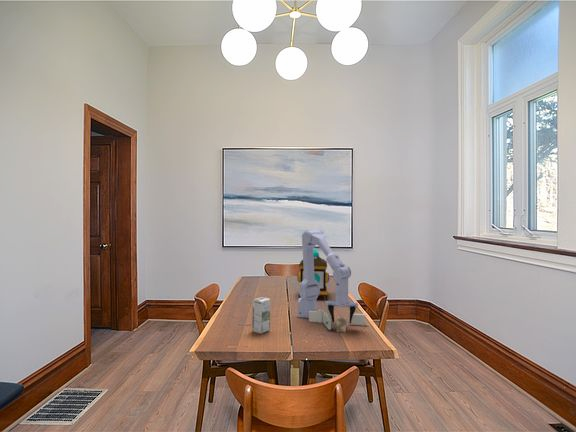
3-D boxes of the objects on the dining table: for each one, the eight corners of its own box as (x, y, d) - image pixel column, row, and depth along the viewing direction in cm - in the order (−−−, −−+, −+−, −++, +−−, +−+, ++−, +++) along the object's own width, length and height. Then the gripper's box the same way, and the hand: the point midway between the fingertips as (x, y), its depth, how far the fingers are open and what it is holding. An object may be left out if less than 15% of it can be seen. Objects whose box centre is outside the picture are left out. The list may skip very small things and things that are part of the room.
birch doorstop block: (336, 332, 150) (336, 322, 150) (337, 326, 158) (337, 316, 158) (345, 332, 150) (345, 322, 149) (346, 326, 157) (346, 317, 157)
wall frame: (308, 321, 163) (308, 309, 163) (309, 320, 165) (309, 308, 165) (365, 325, 158) (365, 313, 158) (365, 324, 159) (365, 312, 159)
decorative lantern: (329, 293, 219) (329, 247, 219) (329, 301, 200) (330, 250, 199) (298, 292, 221) (298, 246, 221) (296, 300, 202) (296, 250, 201)
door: (320, 321, 162) (320, 311, 162) (324, 321, 162) (324, 311, 162) (326, 330, 151) (326, 318, 151) (330, 329, 151) (331, 318, 151)
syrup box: (261, 327, 155) (261, 296, 155) (270, 330, 151) (270, 298, 151) (252, 331, 151) (252, 299, 150) (261, 334, 147) (261, 301, 147)
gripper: (325, 294, 151) (324, 324, 152) (358, 295, 148) (357, 326, 149) (326, 290, 158) (326, 319, 158) (358, 291, 155) (357, 321, 156)
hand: (341, 322), depth 154 cm, fingers open, 7 cm apart
